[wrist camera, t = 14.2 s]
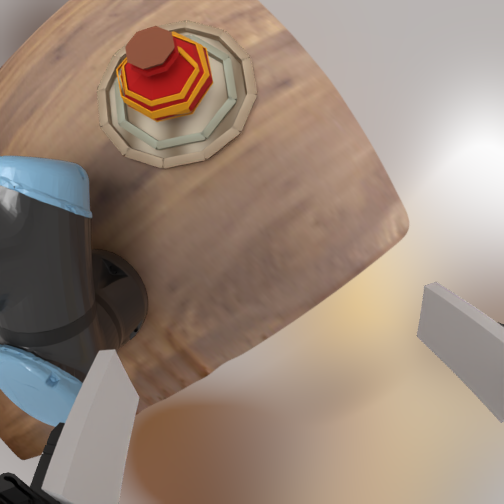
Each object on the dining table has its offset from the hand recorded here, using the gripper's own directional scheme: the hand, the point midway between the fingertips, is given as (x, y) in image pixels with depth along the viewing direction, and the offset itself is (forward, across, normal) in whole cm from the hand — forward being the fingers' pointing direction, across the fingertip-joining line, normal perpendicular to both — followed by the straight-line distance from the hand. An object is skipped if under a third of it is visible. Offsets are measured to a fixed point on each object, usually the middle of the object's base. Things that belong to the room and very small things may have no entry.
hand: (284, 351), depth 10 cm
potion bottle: (+28, -5, +18) cm, 33 cm away
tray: (+29, -5, +18) cm, 34 cm away
